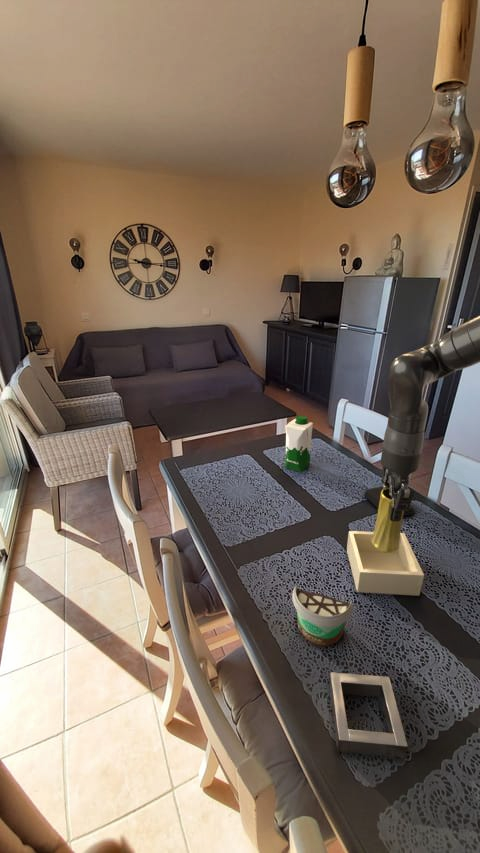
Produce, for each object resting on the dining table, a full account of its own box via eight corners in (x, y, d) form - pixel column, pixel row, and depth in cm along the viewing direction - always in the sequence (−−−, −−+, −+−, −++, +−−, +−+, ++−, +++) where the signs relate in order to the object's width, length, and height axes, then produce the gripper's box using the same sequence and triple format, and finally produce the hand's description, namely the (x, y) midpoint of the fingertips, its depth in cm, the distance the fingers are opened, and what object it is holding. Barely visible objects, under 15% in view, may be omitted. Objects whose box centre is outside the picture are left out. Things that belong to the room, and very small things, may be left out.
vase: (375, 531, 90) (383, 483, 84) (401, 541, 87) (411, 491, 81) (368, 546, 86) (375, 496, 80) (395, 556, 82) (405, 505, 77)
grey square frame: (386, 690, 65) (389, 676, 64) (403, 760, 56) (408, 746, 55) (328, 685, 66) (330, 672, 65) (337, 754, 57) (339, 740, 56)
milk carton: (312, 465, 139) (315, 417, 131) (302, 475, 133) (304, 426, 124) (292, 459, 144) (293, 412, 136) (281, 469, 137) (282, 421, 129)
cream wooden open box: (400, 553, 96) (404, 532, 93) (419, 598, 83) (424, 575, 80) (346, 551, 97) (348, 530, 94) (356, 594, 85) (360, 572, 82)
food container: (284, 641, 74) (285, 607, 70) (292, 617, 80) (293, 583, 76) (346, 662, 70) (351, 627, 66) (349, 635, 75) (354, 601, 71)
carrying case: (358, 495, 120) (386, 523, 107) (359, 488, 119) (387, 515, 106) (386, 490, 122) (416, 516, 109) (387, 482, 121) (418, 508, 108)
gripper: (434, 463, 69) (419, 533, 76) (409, 431, 82) (398, 494, 89) (393, 462, 69) (382, 532, 76) (375, 431, 82) (366, 493, 89)
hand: (390, 511), depth 82 cm, fingers closed on vase, 5 cm apart
